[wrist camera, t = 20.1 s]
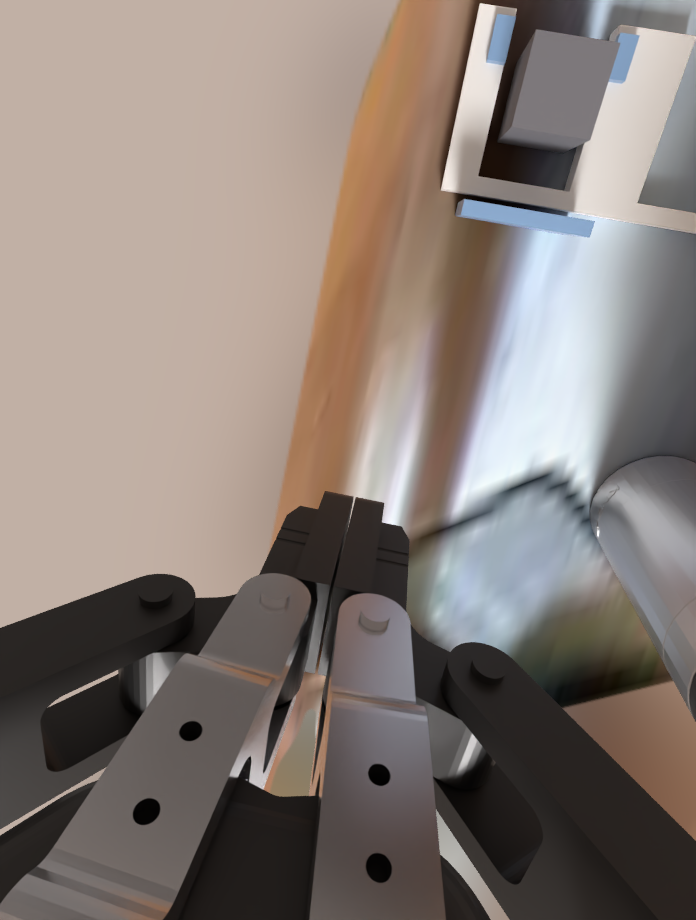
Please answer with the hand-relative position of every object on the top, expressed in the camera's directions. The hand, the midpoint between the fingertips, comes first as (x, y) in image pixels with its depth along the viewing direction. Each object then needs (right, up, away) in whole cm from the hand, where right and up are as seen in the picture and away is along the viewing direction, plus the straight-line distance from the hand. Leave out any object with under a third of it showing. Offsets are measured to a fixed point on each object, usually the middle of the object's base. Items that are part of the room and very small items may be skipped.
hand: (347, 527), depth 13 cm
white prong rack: (+16, +21, +18) cm, 32 cm away
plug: (+11, +23, +18) cm, 31 cm away
